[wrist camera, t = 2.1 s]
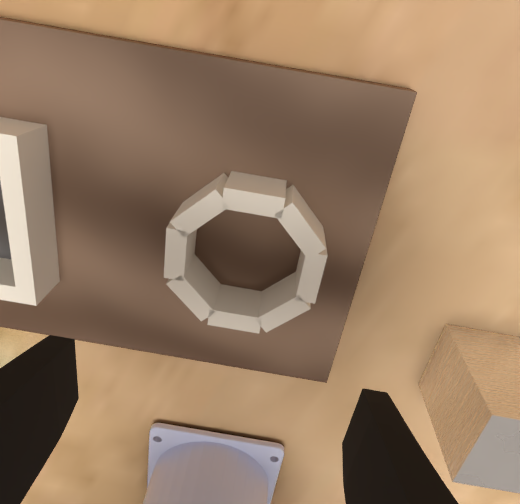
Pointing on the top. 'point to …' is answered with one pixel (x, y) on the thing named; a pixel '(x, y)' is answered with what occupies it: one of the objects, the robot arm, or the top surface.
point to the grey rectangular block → (476, 405)
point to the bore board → (186, 197)
